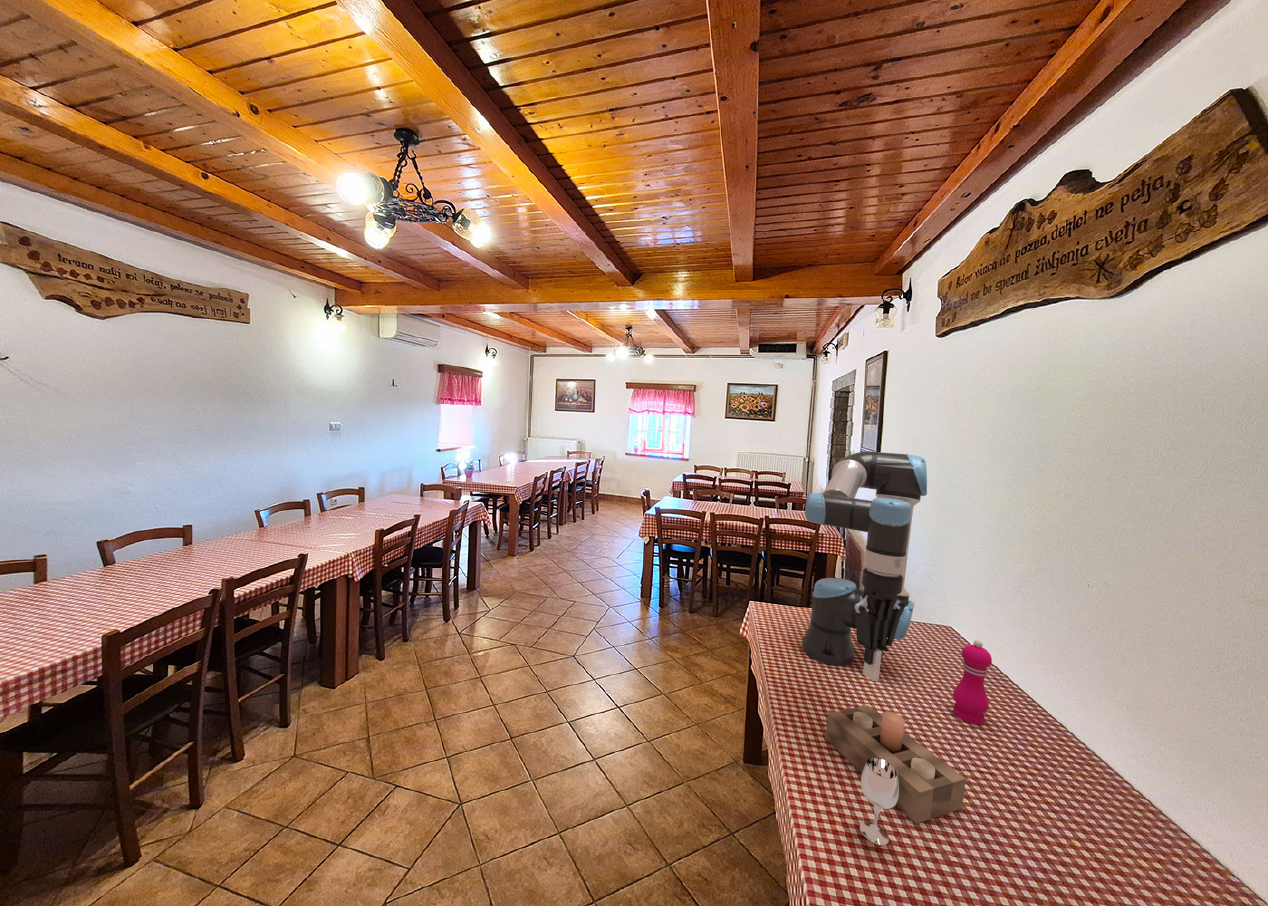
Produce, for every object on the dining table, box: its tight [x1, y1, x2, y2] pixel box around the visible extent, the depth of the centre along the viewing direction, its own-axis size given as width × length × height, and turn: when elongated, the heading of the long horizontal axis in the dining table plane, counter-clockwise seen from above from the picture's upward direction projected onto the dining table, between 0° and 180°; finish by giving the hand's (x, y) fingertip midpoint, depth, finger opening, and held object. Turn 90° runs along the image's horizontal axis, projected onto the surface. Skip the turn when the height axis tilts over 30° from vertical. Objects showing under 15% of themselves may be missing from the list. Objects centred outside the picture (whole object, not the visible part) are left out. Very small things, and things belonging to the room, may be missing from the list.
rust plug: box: [880, 711, 906, 752], centre depth 91 cm, size 4×4×6 cm
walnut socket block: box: [824, 704, 967, 825], centre depth 92 cm, size 22×12×6 cm, turn 20°
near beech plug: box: [911, 758, 935, 782], centre depth 85 cm, size 4×4×6 cm
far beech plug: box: [853, 712, 873, 730], centre depth 98 cm, size 4×4×6 cm
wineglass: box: [859, 758, 899, 846], centre depth 77 cm, size 6×6×12 cm
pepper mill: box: [952, 639, 993, 726], centre depth 111 cm, size 7×7×20 cm
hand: (870, 677), depth 96 cm, fingers closed
